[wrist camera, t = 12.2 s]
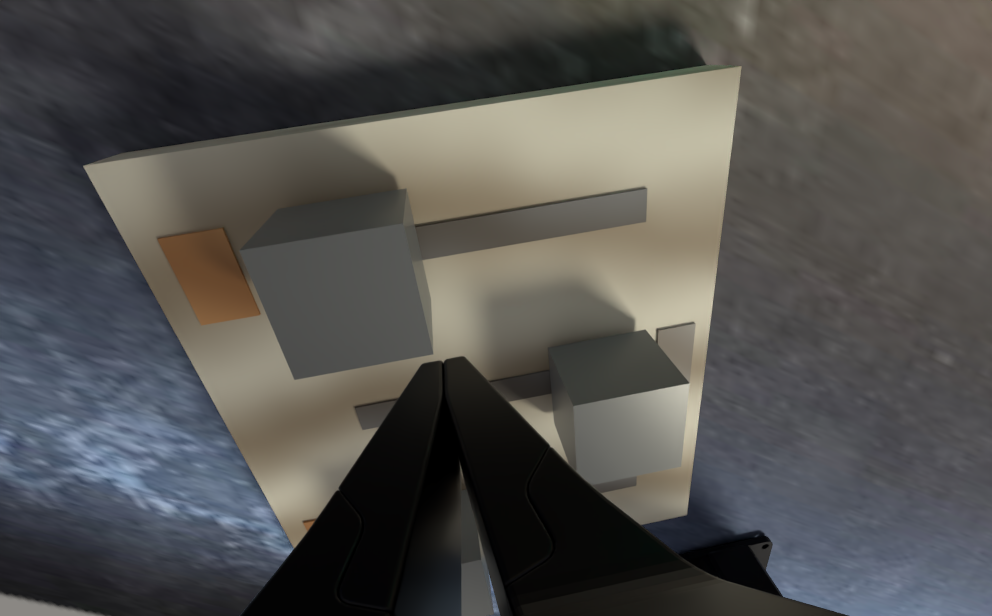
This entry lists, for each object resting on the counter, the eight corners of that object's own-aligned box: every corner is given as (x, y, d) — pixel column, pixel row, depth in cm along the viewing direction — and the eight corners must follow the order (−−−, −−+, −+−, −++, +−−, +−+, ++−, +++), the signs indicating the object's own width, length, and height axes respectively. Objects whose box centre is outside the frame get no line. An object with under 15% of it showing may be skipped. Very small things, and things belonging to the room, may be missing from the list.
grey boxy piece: (484, 541, 23) (493, 614, 20) (405, 558, 23) (403, 634, 20) (472, 488, 21) (481, 559, 18) (386, 505, 21) (380, 581, 18)
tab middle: (642, 405, 20) (681, 466, 17) (554, 423, 20) (577, 488, 17) (645, 329, 19) (689, 383, 15) (547, 347, 18) (573, 406, 15)
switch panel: (669, 485, 27) (687, 516, 25) (326, 557, 26) (319, 596, 24) (707, 65, 16) (743, 66, 15) (121, 152, 15) (80, 166, 13)
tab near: (431, 299, 17) (433, 354, 14) (317, 319, 16) (294, 379, 13) (406, 188, 15) (402, 223, 12) (277, 209, 14) (239, 250, 11)
